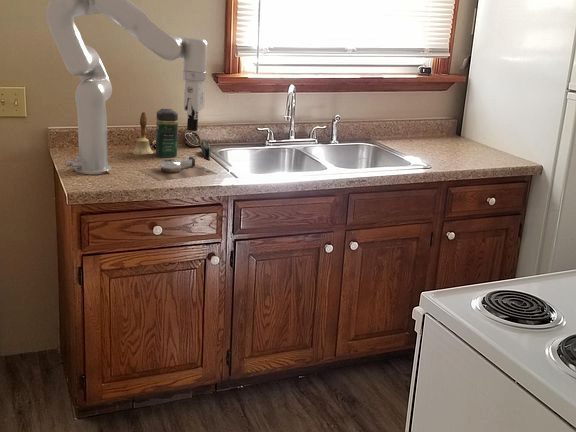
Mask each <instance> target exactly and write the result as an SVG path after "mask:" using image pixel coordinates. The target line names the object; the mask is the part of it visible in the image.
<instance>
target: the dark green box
mask: <svg viewBox="0 0 576 432" xmlns="http://www.w3.org/2000/svg"><path fill="white" fill-rule="evenodd" d="M211 150H212V149H211V146H210V143H209V142H207V141H202V142H201V150H200V151H201V154H202V158H203V159H205V160H208V161H211V159H210V158H211Z"/></svg>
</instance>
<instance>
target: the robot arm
mask: <svg viewBox="0 0 576 432" xmlns="http://www.w3.org/2000/svg"><path fill="white" fill-rule="evenodd" d="M99 14H100V15H101V14H102V15H104V16H105V17H107V18H108V19H109V20H111V21H113V22H114V23H115V24H117V25H118V26H120V27H121V28H122V29H123V30H125V31H126V32H128V33H129V34H130V35H131V36H132V37H133V38H134V39H136V40H137V41H138V42H139V43H141V44H142V45H143V46H144V47H146V48H147V49H148V50H150V51H151V52H153V53H154V54H155V55H157V56H158V57H160V58H161V59H163V60H164V61H170V62H172V61H176V60H177V59H181V58H182V59H183V70H182V71H183V72H182V74H183V75H182V81H183V82H185V83H184V94H183V110H184V111H185V112H186V111H187V112H186V116H187V122H186V124H187V125H186V129H187V131H188V132H189V131H190V132H191V131H192V132H197V131H198V126H199V125H198V123H199V112H200V111H201V110H203V109H204V108H205V82H206V80H207V63H208V62H207V61H208V59H207V57H208V42H207V40H206V39H204V38H200V37H183V36H180V35H174V34H173V35H170V34H168V33H167V32H166V31H165V30H163V29H161V27H159V26H158V25H156V24H155V23H154V22H153V21H152V20H151V18H149V16H148V15H147V13H146V12H145V11H144V10H143V8H141V7H139V6H137V5H136V3H133V2H132V1H131V0H50V1H49V2H48V4H47V7H46V12H45V17H46V18H45V19H46V23H47V26H48V29H49V31H50V33H51V35H52V38H53V40H54V43H55V44H56V48H57V51H58V52H59V54H60V56H61V58H62V61H63V63H64V66H65V68H66V70H67V71H68V73H70V75H73V76H75V77H78V78H79V80H80V83H78V85H77V87H76V90H75V104H76V110H77V133H78V135H77V136H78V141H77V142H78V156H76V157H75V159H74V160H65V161H64V165H65V167H71V168H74V171H75V173H78V174H84V175H105V174H108V173H109V172H110V171H109V170H111V169H112V168H113V167H112V165H111V164H108V119H107V117H108V116H107V109H106V108H107V107H106V101H108V100H109V99H110V98H111V96H112V95H113V94H112V93H113V86H112V82H111V80H110V78H109V75H108V73H107V70H106V68H105V66H104V64H103V61H102V59H101V57H100V55H99V53H98V52H97V50H96V49H95V48H93V47H92V46H90V45H86V44H85V41H84V40H83V37H82V35H81V32H80V30H79V28H78V27H77V25H76V23H75V19H74V18H76V17H83V16H90V15H91V16H92V15H93V16H94V15H99Z"/></svg>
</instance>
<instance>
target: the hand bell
mask: <svg viewBox="0 0 576 432" xmlns="http://www.w3.org/2000/svg"><path fill="white" fill-rule="evenodd" d="M139 124H140V137H139V138H138V139H136V145H135V148H134V149H133V150H132V152H131V154H132V155H135V156H139V155H149V154H150V155H151V154H154V151H153V150H152V148H151V147H150V140H149V139H148V138H146V129H147V128H146V127H147V124H148V118H147V115H146V112H144V111H142V112H141V114H140V118H139Z"/></svg>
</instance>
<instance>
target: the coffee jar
mask: <svg viewBox="0 0 576 432" xmlns="http://www.w3.org/2000/svg"><path fill="white" fill-rule="evenodd" d="M178 115H179V114H178V112H176V111H175V110H173V109H172V108H161V109H159V110H157V112H156V125H155V126H156V131H155V132H156V134H155V135H156V136H155V137H156V139H155V141H156V143H155V155H156V157H158V158H161V159H163V158H164V159H168V158H169V159H174V158H177V157H178V133H179V130H178V128H179V120H178V119H179V118H178V117H179V116H178Z"/></svg>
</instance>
